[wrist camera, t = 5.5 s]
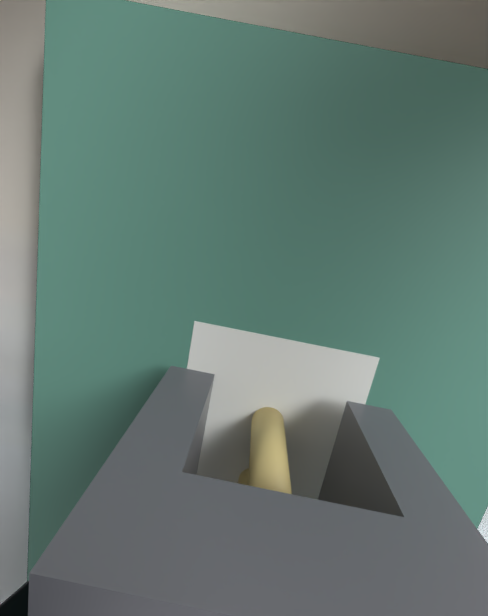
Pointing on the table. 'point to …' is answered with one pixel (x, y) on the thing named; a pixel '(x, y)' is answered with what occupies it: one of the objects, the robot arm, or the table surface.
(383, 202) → the green flat box
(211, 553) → the block
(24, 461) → the table surface
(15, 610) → the robot arm
